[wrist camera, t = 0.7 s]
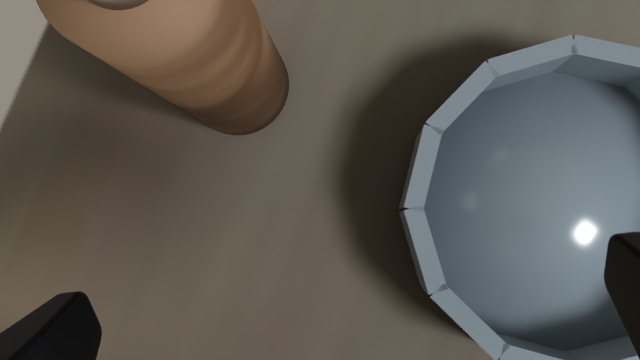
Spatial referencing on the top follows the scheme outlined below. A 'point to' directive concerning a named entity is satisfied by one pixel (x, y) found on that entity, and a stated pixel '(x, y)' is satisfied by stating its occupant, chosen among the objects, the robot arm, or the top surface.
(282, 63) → the brown cylinder
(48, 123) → the top surface
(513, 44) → the top surface
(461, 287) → the bowl
